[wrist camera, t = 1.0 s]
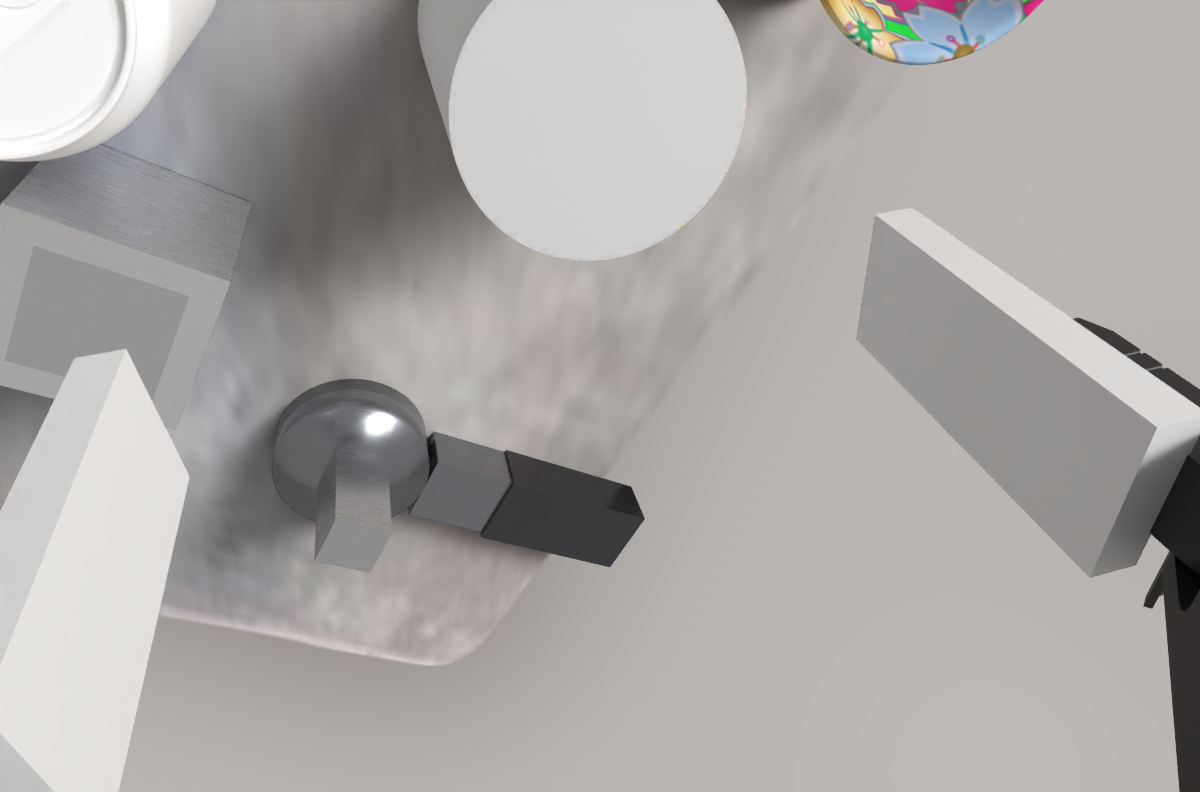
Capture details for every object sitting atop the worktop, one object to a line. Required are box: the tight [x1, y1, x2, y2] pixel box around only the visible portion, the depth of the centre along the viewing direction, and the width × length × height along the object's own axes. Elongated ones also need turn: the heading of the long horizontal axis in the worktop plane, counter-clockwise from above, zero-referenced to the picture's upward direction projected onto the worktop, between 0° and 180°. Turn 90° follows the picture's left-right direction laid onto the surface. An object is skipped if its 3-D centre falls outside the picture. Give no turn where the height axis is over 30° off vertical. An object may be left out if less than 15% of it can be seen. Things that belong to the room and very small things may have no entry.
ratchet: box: [272, 379, 645, 572], centre depth 39 cm, size 19×7×8 cm, turn 59°
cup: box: [417, 0, 747, 261], centre depth 26 cm, size 8×8×12 cm
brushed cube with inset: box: [0, 144, 251, 430], centre depth 29 cm, size 6×6×7 cm
